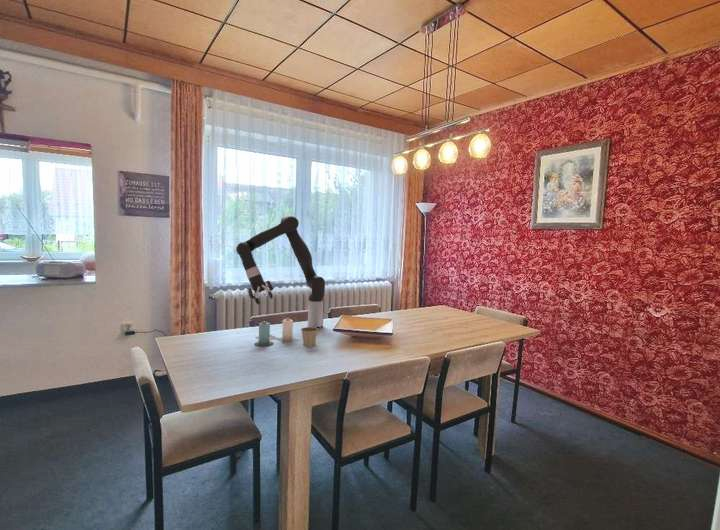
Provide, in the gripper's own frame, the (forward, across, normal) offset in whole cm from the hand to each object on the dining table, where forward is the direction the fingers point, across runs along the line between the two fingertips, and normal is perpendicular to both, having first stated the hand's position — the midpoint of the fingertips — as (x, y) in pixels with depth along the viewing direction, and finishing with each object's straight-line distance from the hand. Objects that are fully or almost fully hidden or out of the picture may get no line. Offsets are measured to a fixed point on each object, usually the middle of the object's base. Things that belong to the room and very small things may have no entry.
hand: (265, 301), depth 203 cm
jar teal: (+20, -15, -10) cm, 27 cm away
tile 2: (+24, -2, -10) cm, 27 cm away
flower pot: (+30, +2, -22) cm, 37 cm away
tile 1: (+20, -9, -1) cm, 21 cm away
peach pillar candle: (+24, -2, -10) cm, 26 cm away
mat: (+20, -15, -10) cm, 27 cm away
